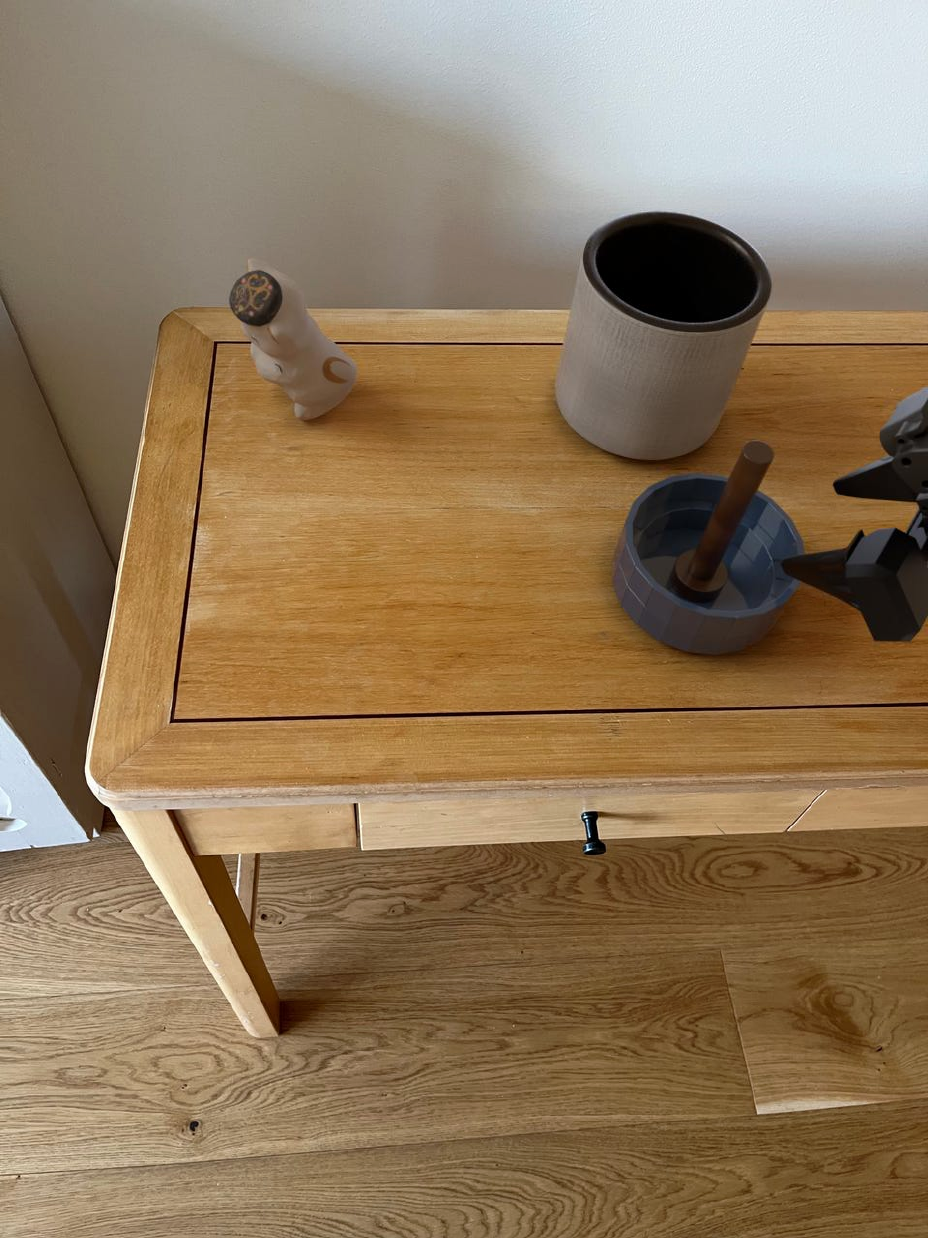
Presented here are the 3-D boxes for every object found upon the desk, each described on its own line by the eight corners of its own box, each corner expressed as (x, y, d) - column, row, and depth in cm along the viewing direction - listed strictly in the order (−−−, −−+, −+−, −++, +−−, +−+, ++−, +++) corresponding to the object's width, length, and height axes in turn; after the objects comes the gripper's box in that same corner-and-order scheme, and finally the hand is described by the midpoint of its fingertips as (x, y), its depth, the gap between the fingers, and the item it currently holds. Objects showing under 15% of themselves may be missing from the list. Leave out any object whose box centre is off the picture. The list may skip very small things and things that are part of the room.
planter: (752, 428, 88) (815, 292, 75) (622, 492, 83) (665, 357, 70) (646, 328, 95) (687, 187, 82) (519, 382, 90) (542, 240, 77)
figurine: (247, 376, 88) (223, 235, 75) (353, 370, 89) (347, 230, 76) (251, 444, 83) (226, 307, 70) (363, 436, 84) (358, 299, 72)
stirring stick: (710, 556, 79) (774, 424, 66) (730, 598, 77) (800, 471, 64) (662, 563, 78) (717, 432, 65) (681, 606, 76) (741, 479, 63)
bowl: (739, 508, 83) (762, 463, 78) (806, 642, 76) (835, 601, 70) (588, 531, 80) (602, 485, 75) (642, 671, 73) (661, 631, 68)
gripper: (1063, 298, 55) (820, 359, 67) (962, 485, 46) (703, 516, 58) (1108, 452, 60) (872, 483, 72) (1024, 649, 51) (771, 646, 63)
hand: (810, 526), depth 66 cm, fingers open, 9 cm apart
